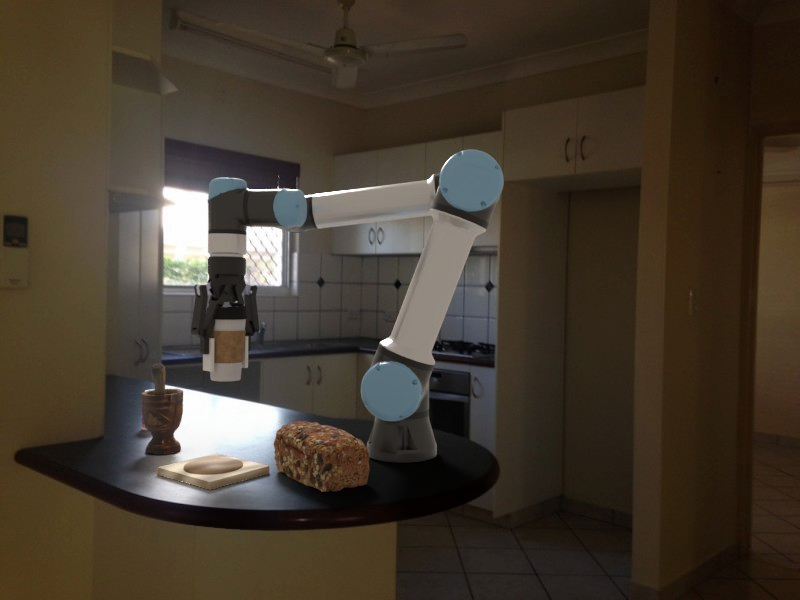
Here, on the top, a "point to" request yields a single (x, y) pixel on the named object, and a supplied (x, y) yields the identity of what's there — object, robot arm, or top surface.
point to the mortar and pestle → (162, 413)
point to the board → (213, 470)
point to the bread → (321, 456)
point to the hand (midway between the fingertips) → (225, 368)
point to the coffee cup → (228, 343)
